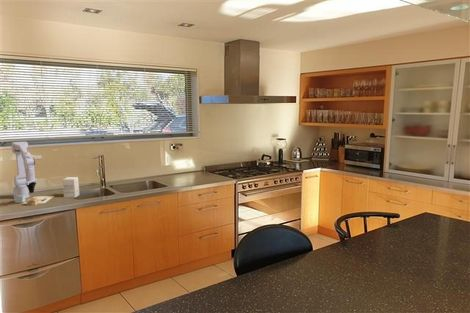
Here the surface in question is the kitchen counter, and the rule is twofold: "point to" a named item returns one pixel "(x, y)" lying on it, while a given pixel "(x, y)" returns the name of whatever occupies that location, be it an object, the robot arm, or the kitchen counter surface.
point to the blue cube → (20, 199)
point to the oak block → (32, 201)
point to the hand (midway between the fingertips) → (31, 192)
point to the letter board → (43, 199)
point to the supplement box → (71, 187)
